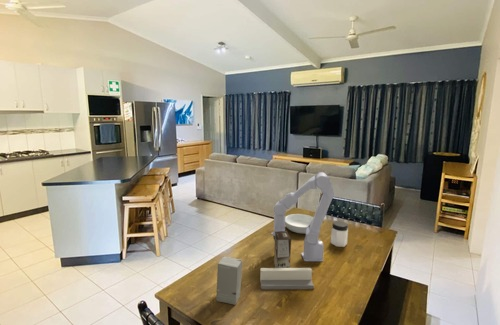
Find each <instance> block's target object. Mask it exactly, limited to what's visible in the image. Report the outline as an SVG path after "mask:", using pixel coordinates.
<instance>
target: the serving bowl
mask: <svg viewBox="0 0 500 325" xmlns="http://www.w3.org/2000/svg"><path fill="white" fill-rule="evenodd" d="M313 217H314V216H311V215H309V214H305V213H292V214H288V215H285V228H287V229H288V230H290V231H291V232H294V233H295V234H296V233H297V234H303V235H304V234H305V235H306V232H305V229H306V227H308V226H309V224H310V222H311V221H312V219H313Z"/></svg>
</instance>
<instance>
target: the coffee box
mask: <svg viewBox="0 0 500 325" xmlns="http://www.w3.org/2000/svg"><path fill="white" fill-rule="evenodd" d="M273 248H274V249H273V250H274V251H273V252H274V255H273V263H274V266H275V267H274V268H291V252H292V237H291V236H290V235H289V233H288V231H287V230H285V231H279V232H275V241H274V247H273Z"/></svg>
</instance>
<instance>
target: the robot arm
mask: <svg viewBox="0 0 500 325" xmlns="http://www.w3.org/2000/svg"><path fill="white" fill-rule="evenodd" d="M332 184H333V183H332V181H331V179H330V177H329V176H328V174H327V173H326V172H323V171H319V172H317V173H316V174H315V175H313V176H311V177H310V178H309V179H308V180H307V181H306V182H305V183H303V184H302V185H301V186H300V187H299V188H298V189H296V191H294V192H289V193H286V194H285V195H284V197H283V198H281V199H279V200H278V201H277V202H276V203H275V204H274V208H273V212H274V214H273V232H270V233H271V234H270V235H271V236H273V241H274V242H275V232H279V231H286V225H285V217H286V211H287V210H290V208H292V207H293V206H294V205H295V204H297V203H298V202H299V198H300V197H301V196H303V195H304V194H306V193H307V192H308V191H309V190H311V189H312V190H317V189H318V190H320V191H321V194H322V195H321V198H320V200H319V203H318V205H317V207H316V210H315V212H314V215H313V216H312V217H313V219H312V221H311V222H310V224H309V226H308V227H306V229H305V232H306V233H305V237H304V239H303V252H300V255H301V256H302V259H303V261H304V262H324V242H323V241H322V240H319V239H320V238H319V235H320V233H321V227H322V224H323V223H324V222H323V221H324V220H325V218H326V215H327V212H328V210H329V207H330V205H331V203H332V200H333V198H334V196H335V195H334V194H335V193H334V189H333V185H332Z"/></svg>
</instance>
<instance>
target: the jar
mask: <svg viewBox="0 0 500 325" xmlns="http://www.w3.org/2000/svg"><path fill="white" fill-rule="evenodd" d="M348 235H349V224H348V223H347V222H345V221H342V220H335V221H333V222H332V227H331V233H330V244H332V245H334V246H335V247H340V248H341V247H342V248H345V247H346V246H347V244H348V238H349V237H348Z"/></svg>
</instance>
